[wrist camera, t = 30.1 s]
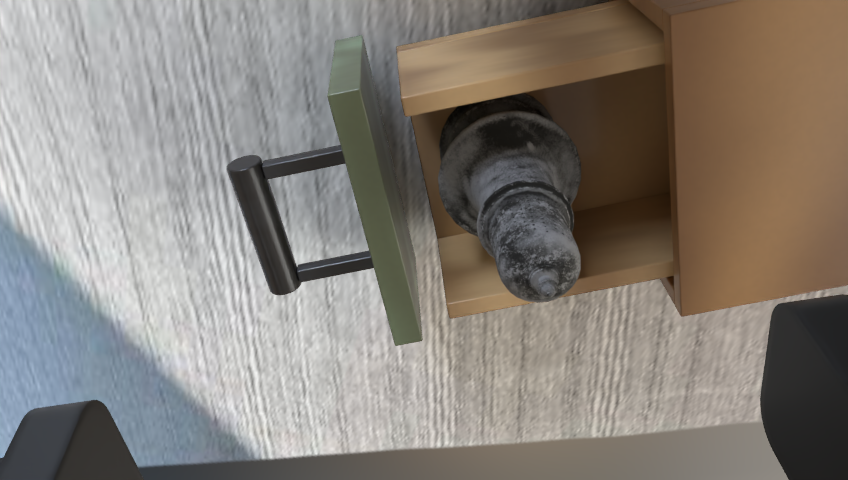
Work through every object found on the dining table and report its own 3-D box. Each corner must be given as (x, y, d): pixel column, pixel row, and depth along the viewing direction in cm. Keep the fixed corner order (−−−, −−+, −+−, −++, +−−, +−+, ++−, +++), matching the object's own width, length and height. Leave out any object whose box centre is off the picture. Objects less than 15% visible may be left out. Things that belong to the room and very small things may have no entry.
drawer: (296, 281, 40) (282, 367, 34) (223, 64, 34) (192, 123, 28) (681, 205, 39) (736, 281, 33) (673, -32, 33) (738, 9, 27)
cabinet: (623, 217, 40) (681, 317, 33) (604, -37, 34) (669, 14, 26) (936, 156, 39) (1068, 243, 32) (977, -117, 33) (1153, -87, 25)
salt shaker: (490, 226, 37) (535, 396, 27) (405, 143, 35) (418, 295, 25) (589, 146, 36) (678, 296, 25) (506, 53, 33) (567, 176, 23)
